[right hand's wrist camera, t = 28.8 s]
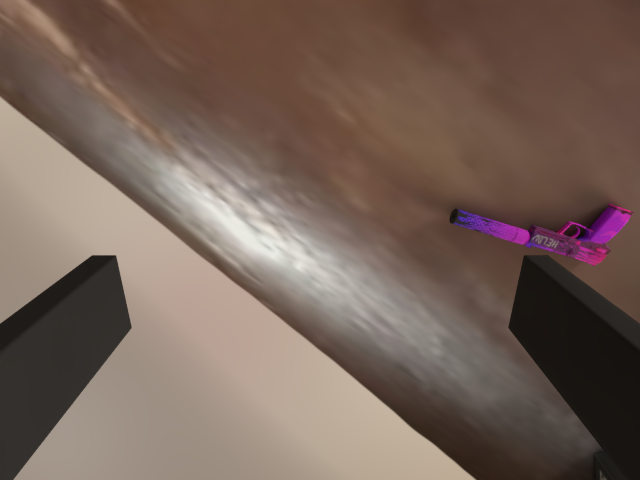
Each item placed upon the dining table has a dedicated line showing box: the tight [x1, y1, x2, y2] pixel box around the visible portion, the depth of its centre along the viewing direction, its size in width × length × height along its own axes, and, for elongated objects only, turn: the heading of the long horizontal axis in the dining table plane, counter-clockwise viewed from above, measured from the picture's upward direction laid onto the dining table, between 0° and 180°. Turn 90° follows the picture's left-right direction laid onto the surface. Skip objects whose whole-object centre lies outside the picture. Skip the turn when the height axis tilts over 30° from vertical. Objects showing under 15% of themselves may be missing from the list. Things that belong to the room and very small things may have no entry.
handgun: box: [450, 204, 634, 266], centre depth 46 cm, size 21×8×2 cm, turn 74°
